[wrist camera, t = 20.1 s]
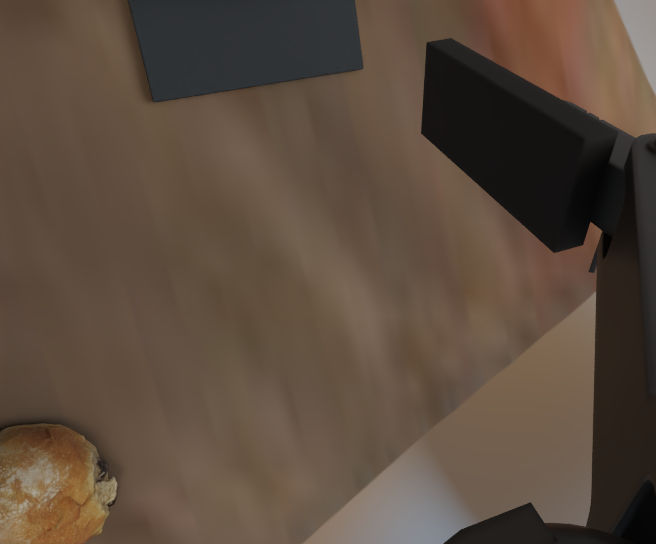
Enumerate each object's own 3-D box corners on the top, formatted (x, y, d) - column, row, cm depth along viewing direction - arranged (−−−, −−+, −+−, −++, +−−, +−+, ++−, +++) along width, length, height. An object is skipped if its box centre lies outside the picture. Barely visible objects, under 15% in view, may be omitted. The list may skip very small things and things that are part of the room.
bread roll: (37, 381, 40) (-49, 416, 32) (151, 454, 39) (92, 508, 32) (-19, 489, 41) (-117, 549, 33) (91, 561, 41) (19, 640, 33)
